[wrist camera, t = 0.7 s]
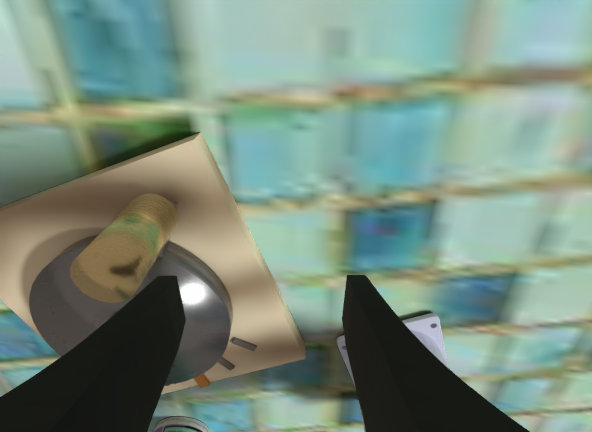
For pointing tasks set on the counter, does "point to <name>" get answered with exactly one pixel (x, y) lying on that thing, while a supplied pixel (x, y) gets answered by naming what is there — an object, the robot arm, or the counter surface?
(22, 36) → the counter surface
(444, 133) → the counter surface
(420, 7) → the counter surface
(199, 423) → the spray can
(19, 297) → the stand
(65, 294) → the metal pan with handle
